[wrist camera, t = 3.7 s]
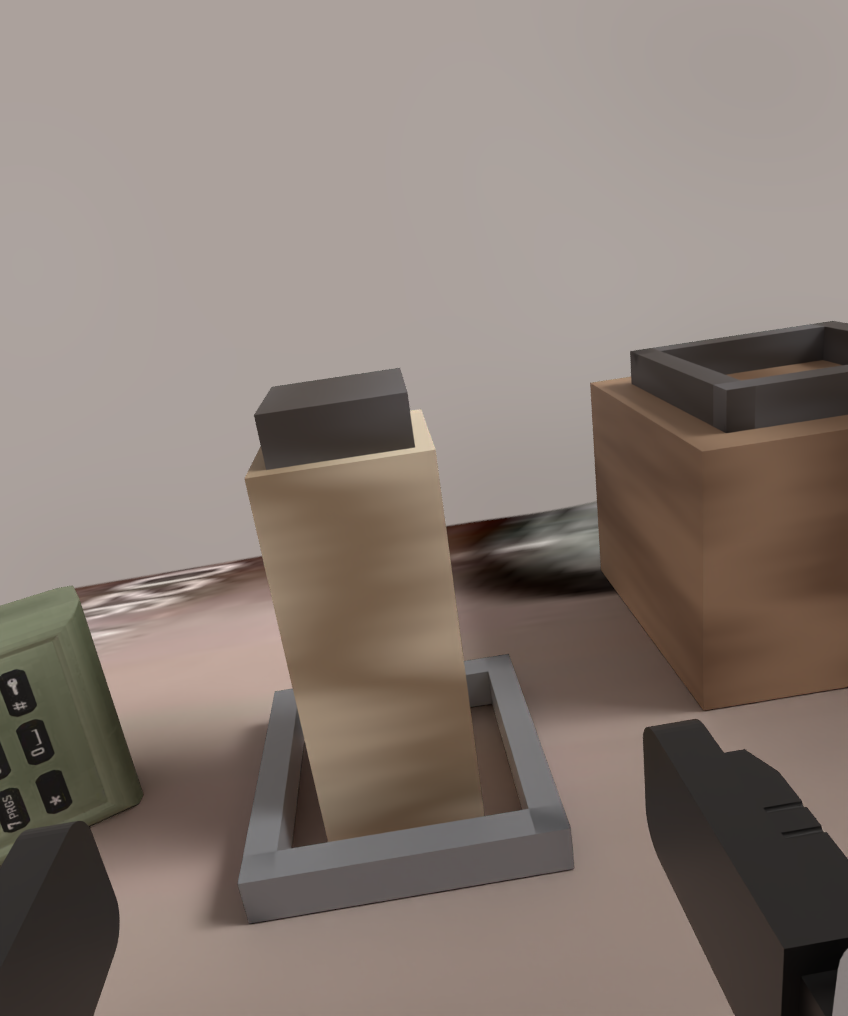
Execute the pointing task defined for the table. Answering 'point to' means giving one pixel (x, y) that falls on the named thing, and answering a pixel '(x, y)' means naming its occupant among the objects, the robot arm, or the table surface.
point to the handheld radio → (57, 721)
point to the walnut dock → (732, 508)
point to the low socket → (411, 852)
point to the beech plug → (365, 602)
